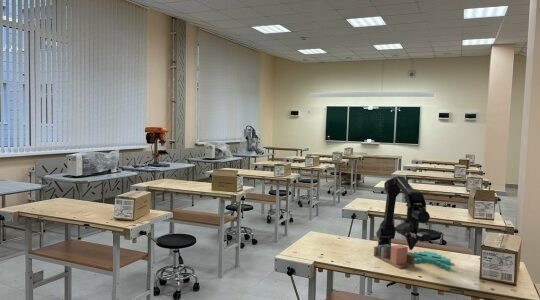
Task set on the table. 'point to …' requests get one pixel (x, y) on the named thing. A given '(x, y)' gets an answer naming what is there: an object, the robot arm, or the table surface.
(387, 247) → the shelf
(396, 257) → the salmon pink block
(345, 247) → the table surface
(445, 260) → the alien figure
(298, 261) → the table surface
